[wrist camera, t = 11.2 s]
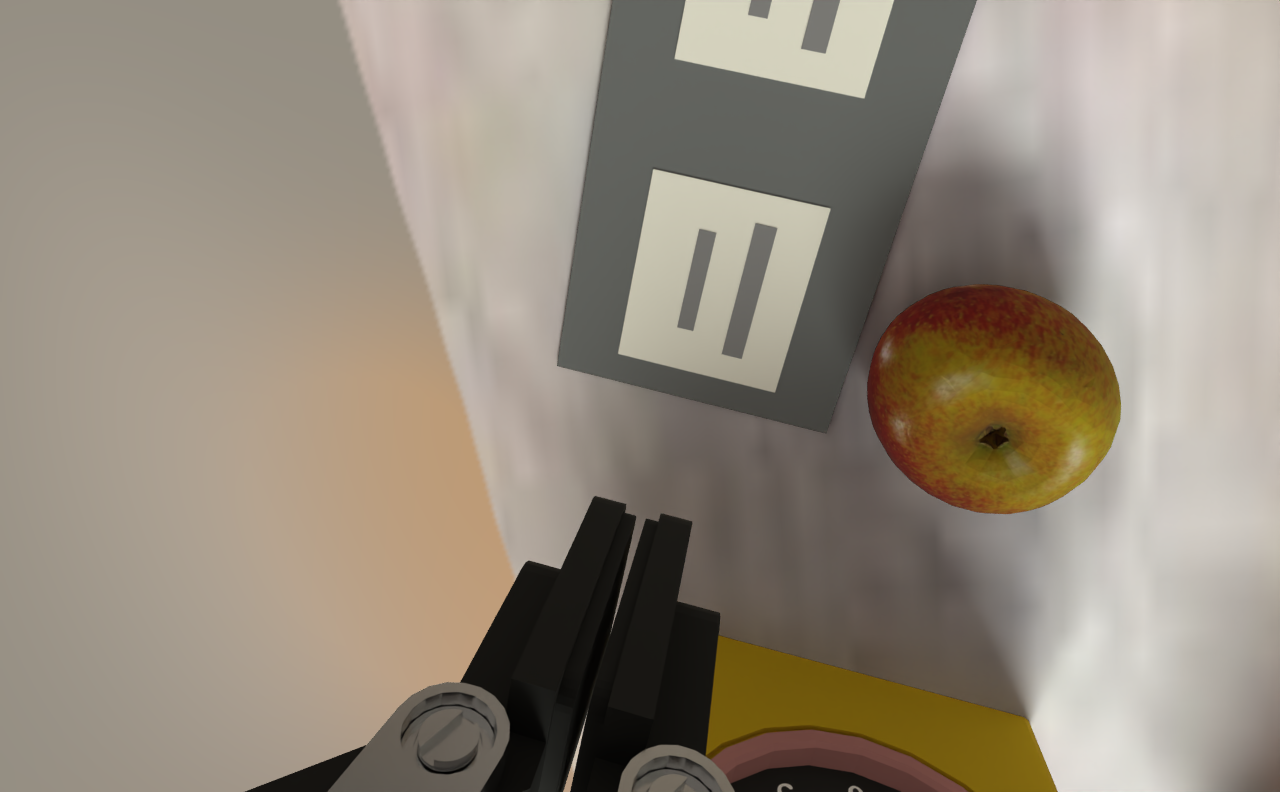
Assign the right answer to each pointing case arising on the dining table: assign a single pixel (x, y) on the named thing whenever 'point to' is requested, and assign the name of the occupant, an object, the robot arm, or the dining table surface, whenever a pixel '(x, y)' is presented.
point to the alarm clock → (857, 732)
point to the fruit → (992, 398)
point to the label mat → (750, 192)
